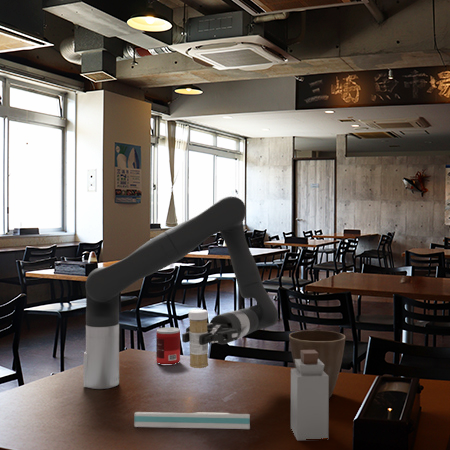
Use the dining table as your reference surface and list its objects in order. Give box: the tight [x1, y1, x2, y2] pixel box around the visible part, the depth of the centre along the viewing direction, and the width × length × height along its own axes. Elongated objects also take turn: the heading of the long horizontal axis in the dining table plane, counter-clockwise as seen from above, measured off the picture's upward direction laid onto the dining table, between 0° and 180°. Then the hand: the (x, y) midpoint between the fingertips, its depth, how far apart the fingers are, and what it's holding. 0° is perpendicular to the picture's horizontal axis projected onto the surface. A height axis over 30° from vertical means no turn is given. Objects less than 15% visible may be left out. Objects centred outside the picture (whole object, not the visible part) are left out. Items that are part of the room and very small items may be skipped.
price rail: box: [133, 411, 251, 430], centre depth 126 cm, size 26×10×3 cm, turn 87°
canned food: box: [155, 326, 181, 364], centre depth 178 cm, size 8×8×11 cm
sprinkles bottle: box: [188, 308, 209, 369], centre depth 129 cm, size 5×5×14 cm
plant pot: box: [288, 329, 346, 398], centre depth 144 cm, size 15×15×16 cm
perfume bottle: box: [290, 350, 330, 441], centre depth 118 cm, size 7×7×18 cm
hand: (192, 339), depth 127 cm, fingers closed on sprinkles bottle, 4 cm apart
